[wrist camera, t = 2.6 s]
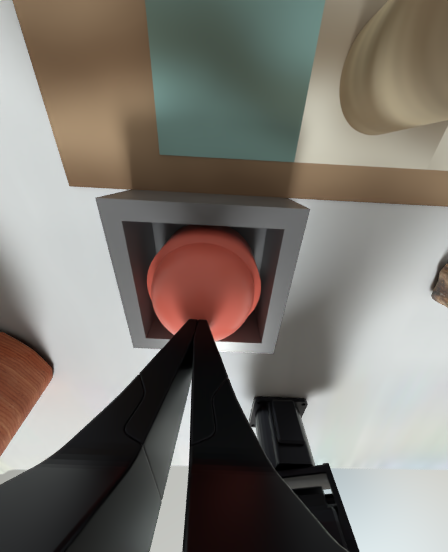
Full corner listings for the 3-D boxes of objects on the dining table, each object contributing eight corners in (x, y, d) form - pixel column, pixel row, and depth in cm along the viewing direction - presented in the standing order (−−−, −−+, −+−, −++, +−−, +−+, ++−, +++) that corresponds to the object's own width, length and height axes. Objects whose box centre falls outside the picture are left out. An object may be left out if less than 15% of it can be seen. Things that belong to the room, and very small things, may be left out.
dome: (249, 306, 16) (260, 374, 11) (166, 303, 16) (136, 369, 11) (260, 224, 13) (284, 263, 7) (156, 218, 13) (106, 254, 7)
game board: (640, 216, 13) (648, 217, 13) (71, 185, 13) (68, 186, 12) (990, -112, 7) (1015, -121, 7) (-43, -191, 7) (-52, -203, 7)
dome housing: (263, 315, 18) (273, 354, 14) (153, 310, 18) (133, 347, 14) (286, 197, 13) (310, 209, 9) (133, 189, 13) (95, 198, 9)
